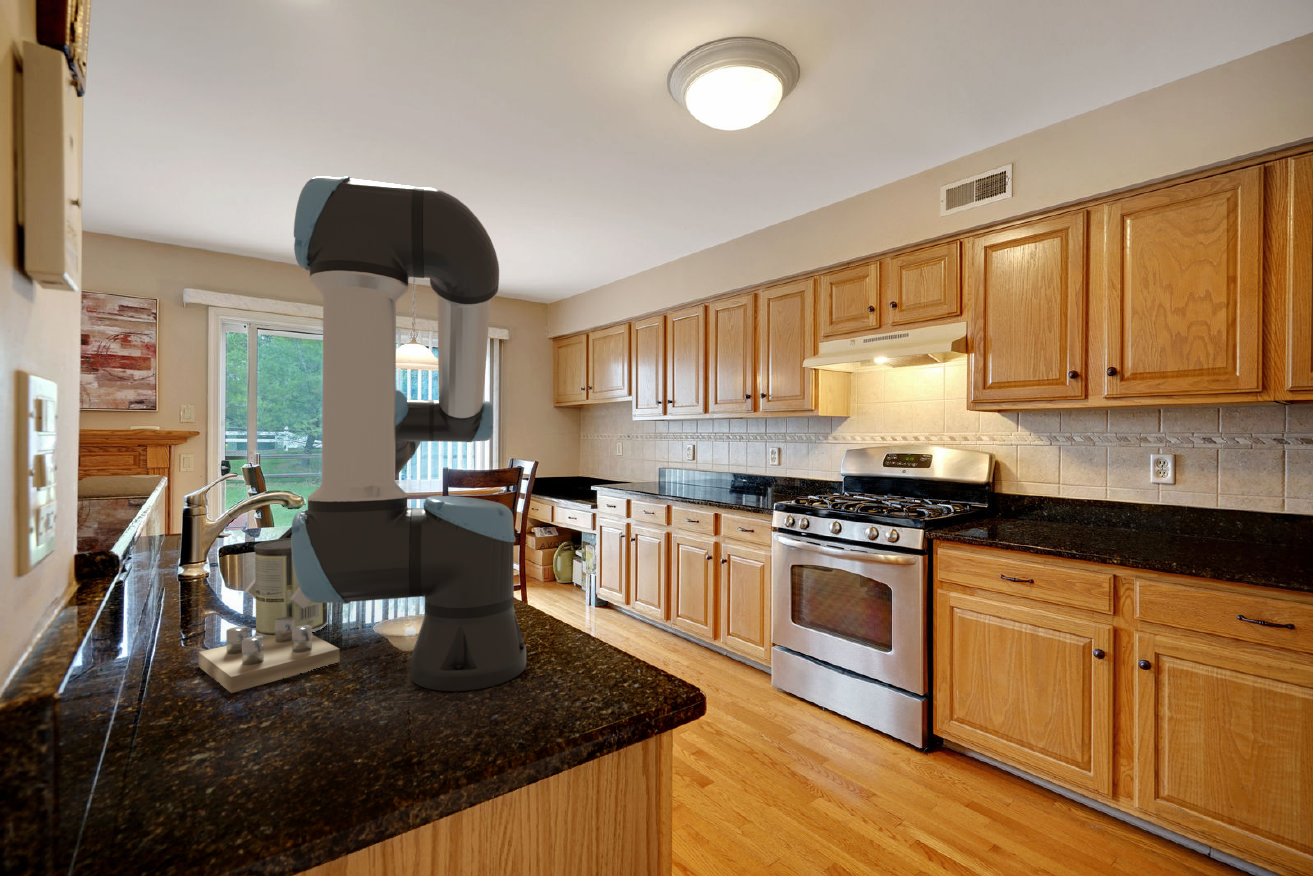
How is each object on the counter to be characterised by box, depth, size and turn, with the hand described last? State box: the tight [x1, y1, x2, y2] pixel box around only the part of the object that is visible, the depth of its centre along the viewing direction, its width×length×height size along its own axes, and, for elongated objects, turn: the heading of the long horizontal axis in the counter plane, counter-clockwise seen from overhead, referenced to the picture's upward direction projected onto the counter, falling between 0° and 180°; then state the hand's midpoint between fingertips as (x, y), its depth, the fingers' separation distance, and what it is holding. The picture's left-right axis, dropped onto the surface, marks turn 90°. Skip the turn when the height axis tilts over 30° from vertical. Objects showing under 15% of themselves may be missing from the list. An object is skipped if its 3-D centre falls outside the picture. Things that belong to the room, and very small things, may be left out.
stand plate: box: [198, 634, 341, 694], centre depth 86 cm, size 13×13×2 cm
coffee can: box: [253, 538, 329, 637], centre depth 101 cm, size 10×10×14 cm
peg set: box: [225, 617, 313, 665], centre depth 86 cm, size 8×8×3 cm
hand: (274, 599), depth 99 cm, fingers closed on coffee can, 10 cm apart
